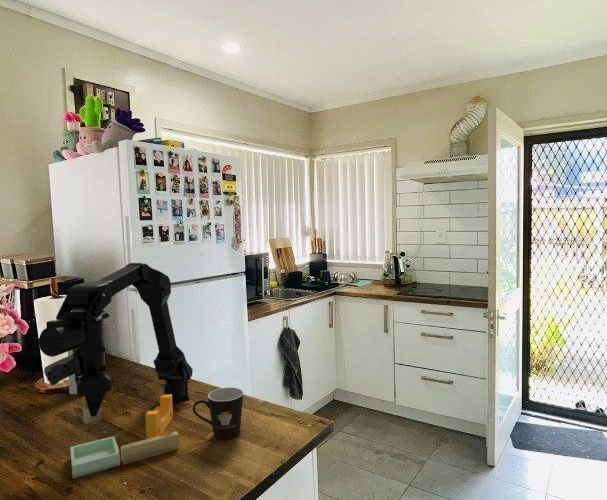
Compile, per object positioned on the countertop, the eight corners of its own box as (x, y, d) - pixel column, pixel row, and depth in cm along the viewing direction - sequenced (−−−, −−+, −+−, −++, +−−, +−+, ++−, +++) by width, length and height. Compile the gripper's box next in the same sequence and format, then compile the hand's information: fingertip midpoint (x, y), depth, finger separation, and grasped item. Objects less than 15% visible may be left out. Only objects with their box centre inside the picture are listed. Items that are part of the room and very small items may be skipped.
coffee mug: (250, 428, 106) (249, 389, 105) (234, 444, 98) (232, 403, 97) (210, 422, 110) (209, 384, 109) (191, 437, 102) (190, 397, 101)
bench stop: (177, 445, 98) (176, 431, 98) (178, 448, 96) (178, 434, 96) (121, 461, 92) (121, 446, 91) (122, 464, 90) (122, 449, 90)
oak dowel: (101, 414, 94) (99, 384, 93) (102, 420, 91) (101, 389, 90) (82, 418, 92) (81, 387, 92) (84, 425, 89) (82, 393, 89)
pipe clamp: (157, 418, 113) (156, 394, 113) (173, 417, 113) (172, 394, 113) (139, 440, 101) (138, 414, 101) (157, 440, 101) (156, 414, 101)
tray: (114, 446, 98) (114, 436, 98) (120, 464, 90) (119, 453, 90) (71, 458, 93) (70, 447, 93) (72, 478, 86) (72, 466, 86)
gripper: (46, 339, 94) (50, 406, 95) (45, 360, 78) (49, 441, 79) (100, 331, 100) (103, 395, 101) (109, 350, 84) (113, 426, 85)
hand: (92, 412), depth 91 cm, fingers closed on oak dowel, 4 cm apart
